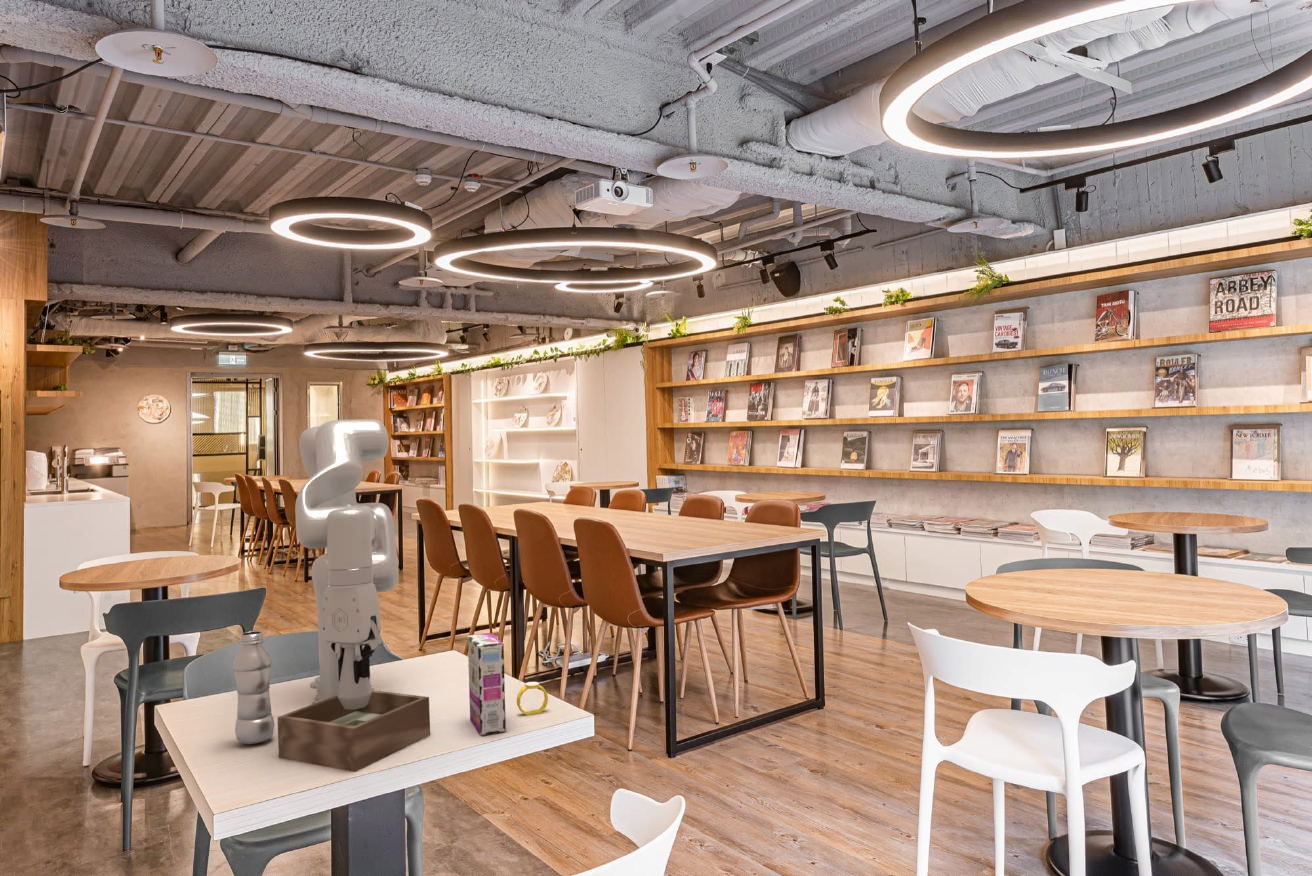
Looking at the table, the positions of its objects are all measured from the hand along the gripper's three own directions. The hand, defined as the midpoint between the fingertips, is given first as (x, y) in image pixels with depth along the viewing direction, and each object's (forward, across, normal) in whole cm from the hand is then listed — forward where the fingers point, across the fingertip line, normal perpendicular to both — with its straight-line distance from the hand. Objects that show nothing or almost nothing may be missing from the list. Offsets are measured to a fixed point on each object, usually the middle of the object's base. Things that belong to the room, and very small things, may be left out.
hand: (354, 679), depth 147 cm
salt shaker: (+5, 0, 0) cm, 5 cm away
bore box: (+12, 0, 0) cm, 12 cm away
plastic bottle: (+12, -20, -5) cm, 24 cm away
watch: (+12, +20, +26) cm, 35 cm away
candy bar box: (+12, +16, +17) cm, 26 cm away
